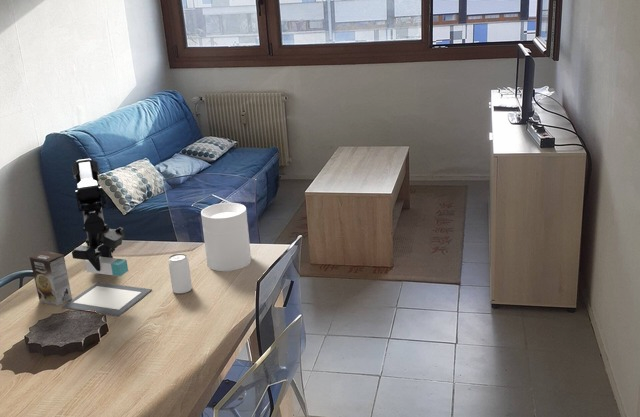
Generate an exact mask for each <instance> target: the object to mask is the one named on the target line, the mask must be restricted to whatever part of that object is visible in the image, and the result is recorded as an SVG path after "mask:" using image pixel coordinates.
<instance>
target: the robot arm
mask: <svg viewBox="0 0 640 417" xmlns="http://www.w3.org/2000/svg"><path fill="white" fill-rule="evenodd" d="M71 169H72V175H73V178H74V180H76V183H77V184H76V188H77V190H75V198H76V202H77V209H78V212H79V213H80V212H82V215H83V224H84V227H82V231H83V232H86V236H87V239H85V244H86V245H83V244H82V245H79V246H78V247H75V248H74V249H73V250H72V251H71V255H72V259H77V260H83V261H85V260H89V262H90V263H91V264H92V265H93V266H94V268H95V269H96V270H97V271H100V260H99V257H108V258H114V257H113V255H112V253H114V252H115V251H116V248H118V247H119V246H122V243H123V240H124V239H126V236H125V229H124V228H123V227H121V226H119V227H118V228H116V229H115V228H110V226H109V224H108V223H105V219H104V213H103V209H105V208H106V206H105V204H107V201H106V196H105V189H103V187H102V186H99V177H98V176H100V175H101V174H100V169H99V163H98V161H95V160H92V159H91V158H84V159H78V160H75V163H74V164H72V165H71Z"/></svg>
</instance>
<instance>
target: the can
mask: <svg viewBox="0 0 640 417" xmlns="http://www.w3.org/2000/svg"><path fill="white" fill-rule="evenodd" d="M168 259H169V260H168V269H169V275H170V283H171V288H172V292H173V293H175V294H177V295H183V294H186V293H188V292H190V291H191V290H192V288H193V284H192V278H191V270H190V268H191V267H190V261H189V258H188V257H187V255H186V253H185V254H184V253H175V254H172V255H170V256H169V258H168Z"/></svg>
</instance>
